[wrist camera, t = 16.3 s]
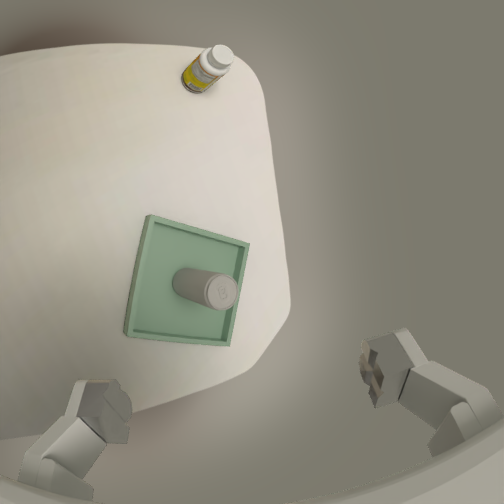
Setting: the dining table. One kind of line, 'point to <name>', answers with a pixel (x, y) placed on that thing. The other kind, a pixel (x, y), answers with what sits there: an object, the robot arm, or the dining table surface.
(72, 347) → the dining table surface
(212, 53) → the supplement bottle
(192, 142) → the dining table surface
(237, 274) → the green tray
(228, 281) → the beverage can
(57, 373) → the dining table surface
